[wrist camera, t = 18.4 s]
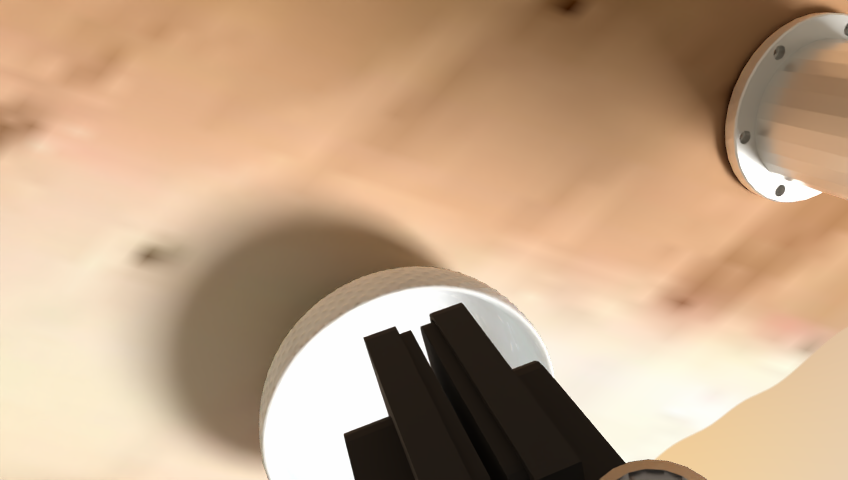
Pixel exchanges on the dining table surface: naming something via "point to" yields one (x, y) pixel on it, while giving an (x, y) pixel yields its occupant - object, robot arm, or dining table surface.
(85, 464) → the dining table surface
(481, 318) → the cereal bowl
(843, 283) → the dining table surface
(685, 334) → the dining table surface
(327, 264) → the dining table surface
